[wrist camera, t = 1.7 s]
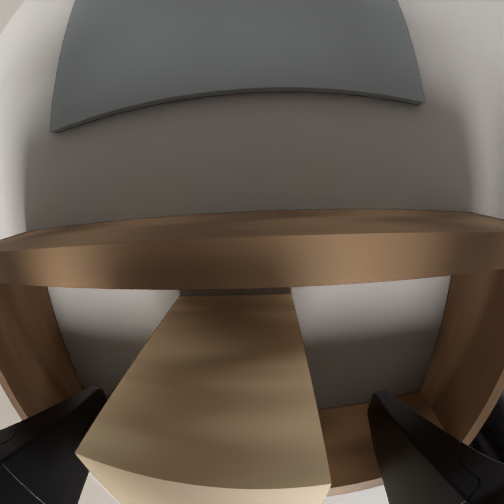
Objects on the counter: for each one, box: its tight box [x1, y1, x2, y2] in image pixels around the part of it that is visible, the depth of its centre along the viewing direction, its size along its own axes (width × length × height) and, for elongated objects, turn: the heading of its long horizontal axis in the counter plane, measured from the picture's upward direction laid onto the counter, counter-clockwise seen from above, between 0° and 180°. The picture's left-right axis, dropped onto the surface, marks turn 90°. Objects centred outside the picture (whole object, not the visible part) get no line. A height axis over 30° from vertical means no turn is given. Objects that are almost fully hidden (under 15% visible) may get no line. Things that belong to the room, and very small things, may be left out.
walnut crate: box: [0, 209, 504, 497], centre depth 9 cm, size 22×11×5 cm, turn 93°
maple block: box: [75, 294, 332, 504], centre depth 7 cm, size 4×4×8 cm
